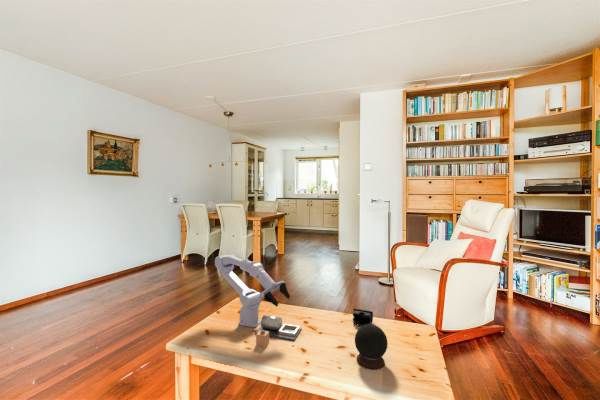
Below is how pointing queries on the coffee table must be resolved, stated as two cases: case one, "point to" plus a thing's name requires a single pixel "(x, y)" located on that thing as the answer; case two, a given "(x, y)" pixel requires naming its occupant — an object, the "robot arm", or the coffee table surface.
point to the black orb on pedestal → (371, 346)
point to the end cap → (362, 317)
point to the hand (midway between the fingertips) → (283, 301)
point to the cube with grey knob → (262, 338)
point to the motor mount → (279, 328)
